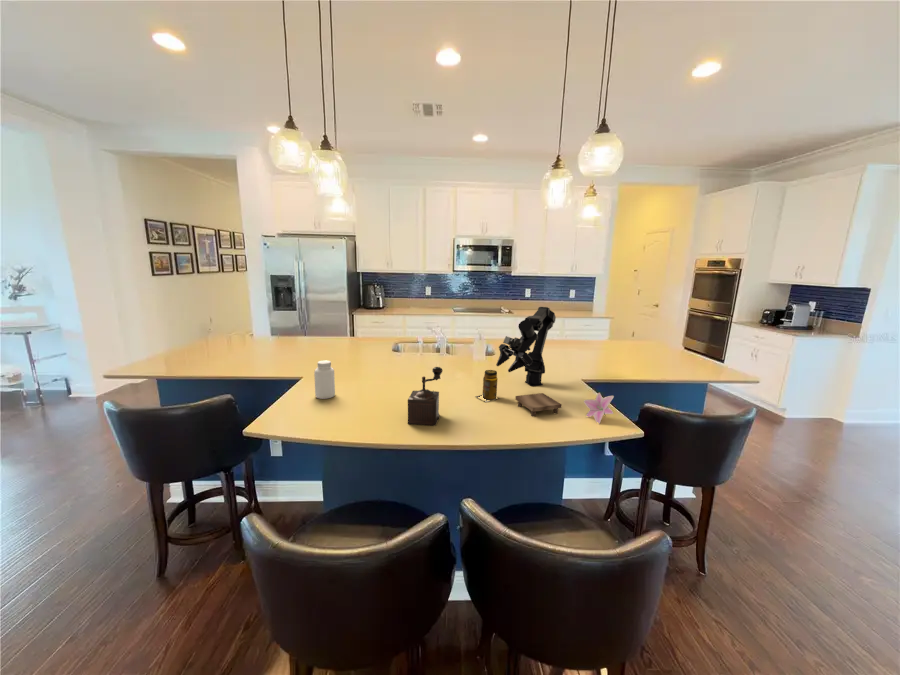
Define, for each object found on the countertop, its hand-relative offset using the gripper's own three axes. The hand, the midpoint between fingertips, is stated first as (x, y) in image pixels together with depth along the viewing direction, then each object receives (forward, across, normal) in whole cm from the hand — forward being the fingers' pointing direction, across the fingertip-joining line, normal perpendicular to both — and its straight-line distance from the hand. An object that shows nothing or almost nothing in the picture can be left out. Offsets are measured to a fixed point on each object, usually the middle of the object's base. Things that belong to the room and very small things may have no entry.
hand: (502, 368), depth 160 cm
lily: (-7, +34, +25) cm, 42 cm away
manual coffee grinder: (+36, +8, -18) cm, 41 cm away
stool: (+5, +18, +13) cm, 23 cm away
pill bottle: (+59, -27, -41) cm, 77 cm away
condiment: (+14, 0, +4) cm, 15 cm away
